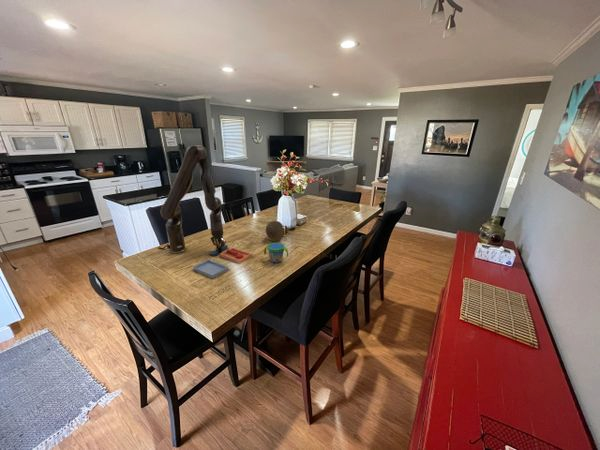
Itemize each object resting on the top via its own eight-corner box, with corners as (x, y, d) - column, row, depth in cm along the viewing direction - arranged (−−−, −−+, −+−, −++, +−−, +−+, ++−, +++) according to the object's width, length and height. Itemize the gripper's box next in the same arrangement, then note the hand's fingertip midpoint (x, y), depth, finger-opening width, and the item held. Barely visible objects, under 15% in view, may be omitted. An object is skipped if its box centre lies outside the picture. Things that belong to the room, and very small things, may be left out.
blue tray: (193, 270, 140) (192, 267, 139) (209, 262, 149) (208, 259, 148) (212, 278, 131) (212, 275, 131) (228, 269, 140) (228, 266, 140)
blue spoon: (213, 256, 156) (213, 253, 155) (209, 254, 158) (208, 251, 157) (229, 249, 166) (229, 245, 166) (224, 247, 169) (224, 244, 168)
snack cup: (291, 258, 154) (290, 244, 150) (284, 266, 144) (283, 251, 141) (269, 254, 159) (268, 240, 155) (261, 261, 150) (260, 247, 146)
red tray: (220, 256, 156) (219, 253, 155) (233, 250, 165) (232, 247, 164) (239, 263, 147) (239, 260, 147) (251, 256, 156) (251, 253, 156)
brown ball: (288, 240, 182) (288, 221, 177) (274, 245, 172) (273, 226, 167) (276, 235, 191) (275, 217, 186) (262, 240, 181) (261, 221, 176)
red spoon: (244, 256, 155) (244, 253, 154) (239, 259, 151) (239, 255, 150) (230, 251, 162) (230, 248, 161) (224, 254, 158) (224, 250, 157)
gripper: (228, 228, 156) (230, 252, 162) (214, 224, 163) (217, 247, 169) (219, 231, 150) (222, 256, 156) (205, 227, 157) (208, 251, 163)
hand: (219, 251), depth 162 cm, fingers closed on blue spoon, 1 cm apart
